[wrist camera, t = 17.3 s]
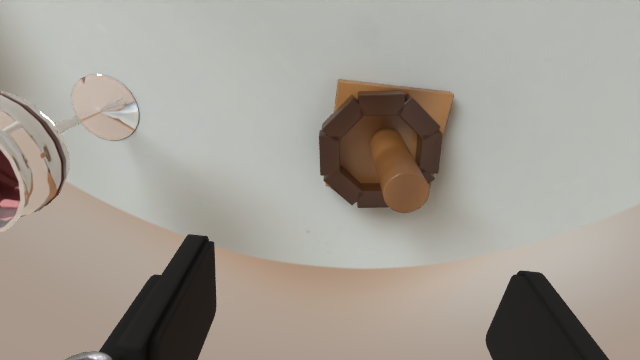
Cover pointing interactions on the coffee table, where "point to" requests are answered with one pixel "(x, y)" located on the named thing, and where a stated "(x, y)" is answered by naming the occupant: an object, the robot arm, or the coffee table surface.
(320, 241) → the coffee table surface
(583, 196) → the coffee table surface
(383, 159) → the wooden peg stand
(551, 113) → the coffee table surface
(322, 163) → the ring
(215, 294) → the robot arm
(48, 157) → the wineglass
